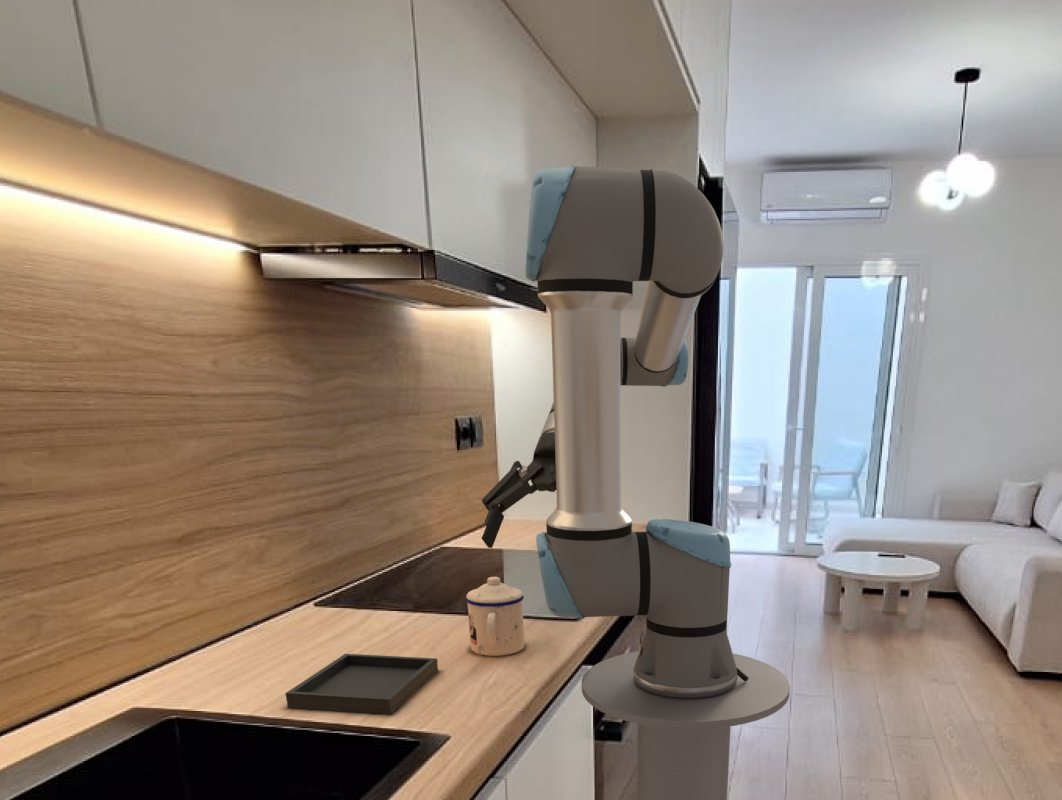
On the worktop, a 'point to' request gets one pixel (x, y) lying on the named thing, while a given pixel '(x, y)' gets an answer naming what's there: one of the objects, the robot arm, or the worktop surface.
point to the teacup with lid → (495, 619)
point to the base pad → (363, 683)
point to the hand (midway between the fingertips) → (522, 546)
